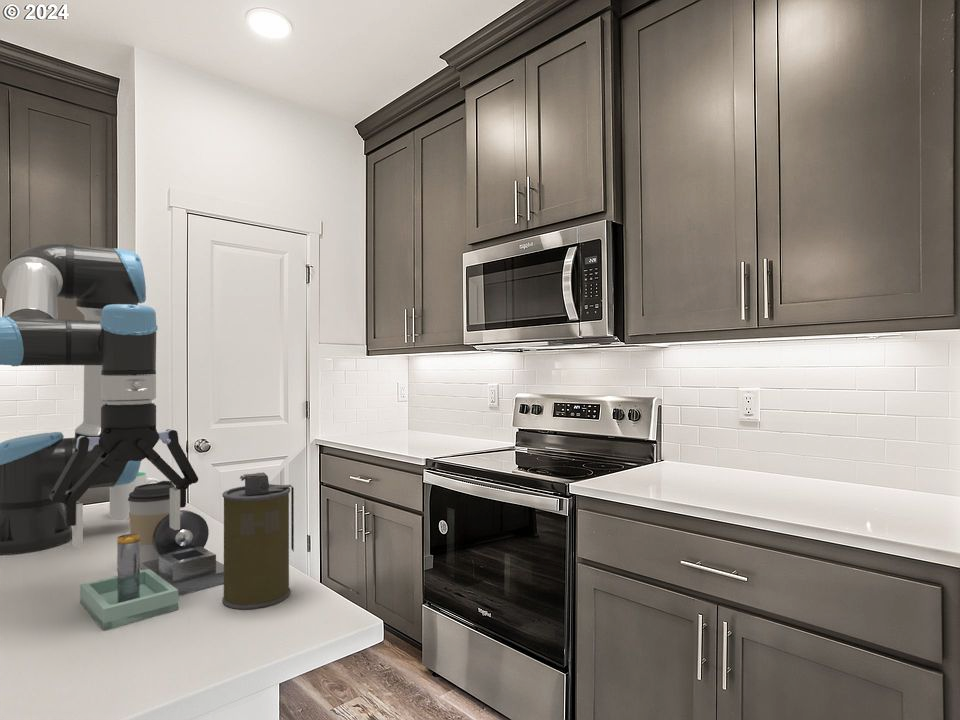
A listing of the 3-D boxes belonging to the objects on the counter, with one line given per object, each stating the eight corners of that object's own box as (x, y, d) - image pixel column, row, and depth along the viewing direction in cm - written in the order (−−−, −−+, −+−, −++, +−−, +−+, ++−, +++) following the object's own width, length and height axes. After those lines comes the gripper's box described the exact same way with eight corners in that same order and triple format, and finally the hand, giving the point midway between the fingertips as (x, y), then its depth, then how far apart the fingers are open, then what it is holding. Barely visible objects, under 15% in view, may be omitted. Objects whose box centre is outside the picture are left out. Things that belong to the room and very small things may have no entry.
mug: (157, 507, 158) (157, 469, 158) (167, 512, 152) (167, 472, 153) (106, 515, 150) (106, 475, 150) (114, 521, 144) (114, 479, 144)
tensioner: (141, 573, 107) (141, 513, 107) (198, 560, 114) (198, 504, 114) (171, 597, 96) (171, 529, 96) (232, 581, 103) (232, 518, 103)
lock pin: (115, 600, 92) (114, 536, 92) (136, 594, 94) (136, 532, 94) (120, 605, 90) (120, 540, 90) (142, 599, 92) (142, 536, 92)
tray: (80, 603, 93) (80, 584, 94) (149, 586, 101) (149, 568, 101) (103, 630, 84) (103, 609, 84) (178, 609, 91) (178, 590, 91)
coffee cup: (157, 570, 109) (157, 489, 109) (115, 567, 110) (116, 487, 111) (190, 555, 117) (190, 480, 118) (151, 552, 119) (151, 478, 120)
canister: (224, 614, 89) (224, 482, 89) (220, 591, 98) (220, 472, 98) (298, 601, 94) (298, 476, 94) (287, 580, 103) (287, 466, 103)
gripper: (35, 407, 81) (35, 561, 81) (218, 399, 99) (218, 525, 99) (26, 405, 86) (25, 549, 86) (201, 398, 104) (201, 517, 104)
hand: (128, 537), depth 92 cm, fingers open, 13 cm apart
